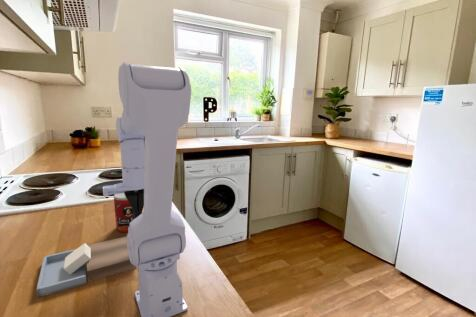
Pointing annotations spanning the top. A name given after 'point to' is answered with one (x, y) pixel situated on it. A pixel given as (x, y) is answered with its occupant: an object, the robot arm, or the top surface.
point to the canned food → (122, 212)
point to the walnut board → (108, 258)
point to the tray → (58, 275)
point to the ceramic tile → (77, 258)
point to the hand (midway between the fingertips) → (137, 217)
